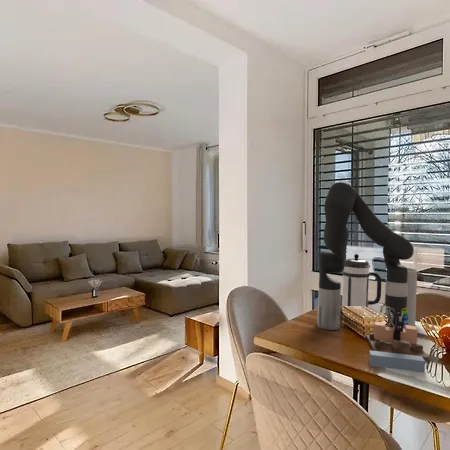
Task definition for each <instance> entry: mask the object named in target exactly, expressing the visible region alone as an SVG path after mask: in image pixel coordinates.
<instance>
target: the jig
mask: <svg viewBox="0 0 450 450" xmlns="http://www.w3.org/2000/svg"><path fill="white" fill-rule="evenodd" d="M385 327H387V326H386V325H385ZM368 334H369V335H366V337H365V339H366V341H367V342H368V345H369V347H370V348H371V351H379V352H388V353H397V354H406V355H414V356H422V357H423V359H424V360H425V362H430V356H429V354H427V353H426V352H425V350H424V345H423V344H418V343H417V344H410V343H409V342H408V341H406V340H394V339H392V342H391V341H383V340H376V339H375V338H374V332H369V333H368Z"/></svg>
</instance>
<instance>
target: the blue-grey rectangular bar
mask: <svg viewBox="0 0 450 450" xmlns="http://www.w3.org/2000/svg"><path fill="white" fill-rule="evenodd" d="M368 353H369V356H368V358H369V359H368V363H369V365H370V367H375V368H376V367H377V368H384V369H385V368H386V369H391V370H392V369H393V370H398V371H399V370H400V371H410V372H416V373H424V374H425V372H426V371H425V369H426V361H425V360H424V359H423V357H422V356H414V355H406V354H397V353H388V352H379V351H373V350H372V349H371V350H369V352H368Z"/></svg>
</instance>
